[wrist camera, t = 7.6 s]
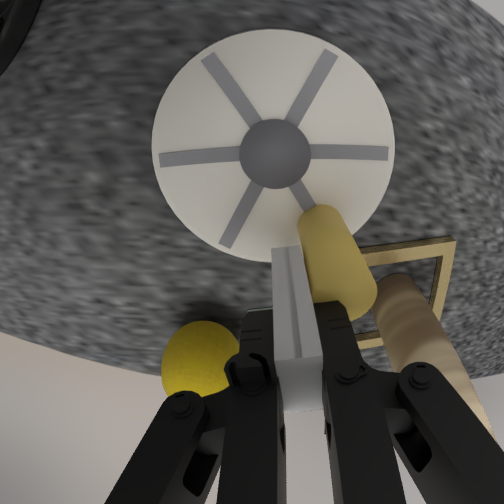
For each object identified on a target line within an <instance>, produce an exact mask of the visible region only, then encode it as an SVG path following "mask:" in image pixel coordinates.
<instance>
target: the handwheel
mask: <svg viewBox="0 0 504 504" xmlns="http://www.w3.org/2000/svg"><path fill="white" fill-rule="evenodd" d="M394 155H395V138H394V131H393V125H392V120H391V117H390V113H389V110H388V107H387V105H386V103H385V100H384V98H383V96H382V94H381V92H380V90H379V89H378V87H377V86H376V84H375V83H374V81H373V79H372V78H371V77H370V76H369V75H368V73H367V72H366V71H365V70H364V69H363V68H362V67H361V66H360V65H359V64H358V63H357V62H356V61H355V60H354V59H353V58H351V57H350V56H349V55H348V54H346V53H345V52H343V51H342V50H340V49H339V48H337V47H336V46H334V45H332V44H330V43H328V42H326V41H324V40H322V39H320V38H317V37H314V36H311V35H308V34H304V33H300V32H295V31H289V30H274V29H266V30H256V31H249V32H245V33H241V34H237V35H233V36H231V37H228V38H226V39H223V40H221V41H218V42H216V43H214V44H213V45H211V46H209V47H208V48H206V49H204V50H202V51H201V52H200V53H199V54H197V55H196V56H195V57H193V58H192V59H191V60H190V61H189V62H188V63H187V64H186V65H185V66H184V67H183V68H182V69H181V70H180V71H179V72H178V73H177V75H176V76H175V77H174V79H173V80H172V82H171V83H170V84H169V86H168V88H167V89H166V91H165V93H164V95H163V97H162V99H161V101H160V104H159V107H158V110H157V113H156V116H155V120H154V125H153V130H152V159H153V165H154V170H155V174H156V178H157V181H158V183H159V186H160V189H161V191H162V193H163V195H164V197H165V199H166V201H167V203H168V204H169V206H170V207H171V209H172V210H173V212H174V213H175V215H176V216H177V217H178V218H179V219H180V220H181V221H182V223H183V224H184V225H185V226H186V227H187V228H188V229H189V230H191V231H192V232H193V233H194V234H195V235H196V236H198V237H199V238H200V239H202V240H203V241H205V242H206V243H208V244H209V245H211V246H213V247H215V248H217V249H219V250H221V251H223V252H225V253H228V254H231V255H233V256H236V257H240V258H244V259H248V260H253V261H260V262H272V260H271V249H272V248H279V247H287V246H295V245H300V247H301V251H302V256H303V259H304V263H305V268H306V273H307V278H308V283H309V288H310V292H311V297H312V302H313V303H321V302H328V301H335V300H338V301H339V302H341V303H342V304H343V305H344V306H345V307H346V310H347V313H348V316H349V319H350V321H352V320H355V319H357V318H359V317H361V316H362V315H364V314H365V313H366V312H367V311H368V310H369V309H370V308H371V307H372V306H373V304H374V302H375V300H376V297H377V285H376V282H375V280H374V278H373V276H372V274H371V272H370V270H369V268H368V266H367V264H366V262H365V260H364V258H363V256H362V254H361V252H360V250H359V248H358V246H357V244H356V242H355V240H354V239H353V237H352V235H353V234H354V233H355V232H357V231H358V230H359V229H360V228H361V227H362V226H363V225H364V223H365V222H366V221H367V220H368V219H369V218H370V216H371V215H372V214H373V212H374V211H375V210H376V208H377V207H378V205H379V203H380V201H381V200H382V198H383V196H384V194H385V191H386V189H387V186H388V184H389V181H390V177H391V173H392V170H393V163H394Z"/></svg>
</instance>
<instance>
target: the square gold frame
mask: <svg viewBox="0 0 504 504" xmlns="http://www.w3.org/2000/svg"><path fill="white" fill-rule="evenodd" d="M455 247H456V240H455V239H454V238H453V237H452V236H447V237H439V238H432V239H425V240H418V241H410V242H403V243H395V244H388V245H380V246H373V247H365V248H359V250H360V252H361V254H362V256H363V258H364V260H365V262H366V264H367V266H368V267H369V266H376V265H383V264H390V263H397V262H403V261H410V260H416V259H423V258H429V257H435V256H438V258H437V264H436V270H435V276H434V282H433V287H432V292H431V297H430V302H429V306H430V307H431V309H432V311H433V312H434V314H435V316H436V317H437V319H438V321H440V317H441V313H442V309H443V305H444V301H445V297H446V293H447V289H448V284H449V279H450V274H451V269H452V264H453V258H454V253H455ZM350 322H351V321H350ZM355 337H356V340H357V344H358V347H359V349H365V348H371V347H376V346H382V345H384V343H383V341H382V338H381V335H380V333H379V331H375V332H369V333H363V334H357V335H355Z"/></svg>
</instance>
